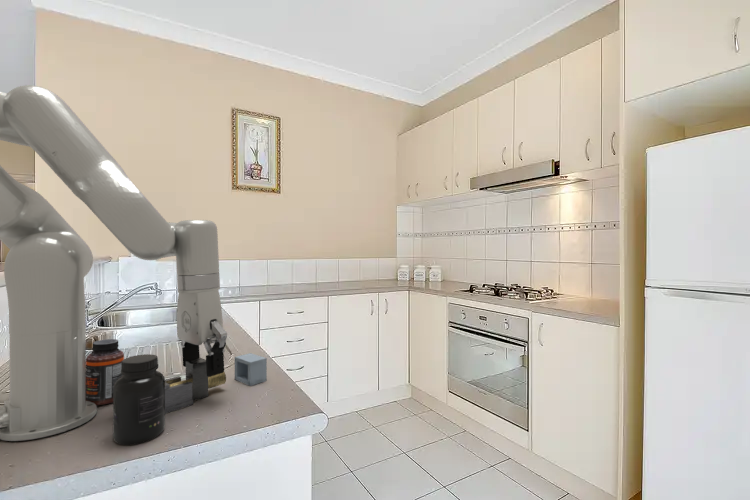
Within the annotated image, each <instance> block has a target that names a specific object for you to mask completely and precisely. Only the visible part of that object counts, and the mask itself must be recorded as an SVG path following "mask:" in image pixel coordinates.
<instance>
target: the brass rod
mask: <svg viewBox="0 0 750 500" xmlns="http://www.w3.org/2000/svg"><path fill="white" fill-rule="evenodd" d="M186 382H192V400H193V402H194V401H198V400H200V399H204V398H206V397H207V398H208V397H209V389H212V388H215V387H218V386H222V385H225V384H226V382H227V375H226V373H225V371H224V372H223V373H221V374H217V375H214V376H211V377H208V376H207V370H206V358H202V357H200V358H198V359H194V360H189V361H186V367H185V379H184V380H181V381H180V382H176V383H172V384H170V387H172V386H175V385H179V384H183V383H186Z"/></svg>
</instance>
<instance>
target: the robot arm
mask: <svg viewBox="0 0 750 500" xmlns="http://www.w3.org/2000/svg"><path fill="white" fill-rule="evenodd" d="M0 141H4V142H7V143H12V144H15V145H16V144H17V145H19V146H20V145H21V146H26V147H30V148H31V150H33V151H34V152H35V153H36V154H37V155H38V157H40V158H41V159H42V161H43V162H45V164H46V165H47V166H48V167H49V168H50V169H51V171H53V173H54V174H55V175H57V176H58V177H59V179H60V180H61V182H63V184H64V185H66V187H68V189H69V190H70V191H71V192H72V194H74V196H75V197H77V198H78V199H79V200H80V201H82V202H83V204H85V205H86V206H87V207H88V209H90V211H91V212H92V213H93V214H94V215H95V216H96V217H97V218H98V219H99V221H100V222H101V223H102V224H103V225H104V226H105V227H106V228H107V229H108V230H109V231H110V233H111V234H112V235H113V236H114V237H115V238H116V239H117V241H119V242H120V243H121V245H123V247H124V248H125V249H126V250H127V251H128V252H129V253H131V255H133V256H134V257H136V258H137V259H140V260H144V261H157V260H160V259H163V258H169V257H170V258H171V257H175V259H176V260H175V263H176V279H177V280H176V281H177V282H176V283H177V293H178V295H177V304H176V305H177V307H176V332H177V333H176V336H177V338H178V339H179V340H181V341H180V345H181V353H182V354H181V355H182V367H184V368H186V361H189V360H194V359H198V358H201V357H200V355H201V354H200V346H202V345H204V348H205V351H206V353H207V354H206V355H205V360H206V370H207V376H208V377H211V376H214V375H217V374H221V373H223V372H225V359H224V358H225V356H224V354H225V351H226V350H225V349H226V344H227V337H228V333H227V331H226V329H225V328H224V321H223V310H222V303H221V297H220V291H219V290H221V283H220V279H221V278H220V260H219V258H220V256H219V241H218V240H219V238H218V227H217V224H216V223H215V222H214V221H212V220H208V219H205V220H204V219H188V220H181V221H178V222H168V221H167V220H166V219H165V218H164V217H163V215H161V213H160V212H159V211H158V210H157V209H156V208H155V206H154V205H153V204H152V203H151V202H150V201H149V199H148V198H147V197H146V196H145V194H143V193H142V191H141V190H140V189H139V188H138V187H137V186H136V185H135V183H134V182H133V181H132V180H131V179H130V177H129V176H128V175H127V174H126V172H125V170H124V169H123V167H122V166H121V165H120V164H119V163H118V161H117V160H116V159H115V157H114V156H113V155H112V154H111V153H110V152H109V151H108V150H107V149H106V147H105V146H103V144H102V142H100V141H99V139H98V138H97V137H96V136H95V135H94V134H93V132H92V131H91V130H90V128H88V126H86V124H85V123H84V122H83V121H82V120H81V119H80V118H79V116H78V115H77V114H76V113H75V112H74V111H73V109H72V108H71V107H70V106H69V104H67V103H66V102H65V100H64V99H62V98H61V97H60V96H59V95H58V94H56V93H55V92H53V91H52V90H50V89H48V88H45V87H43V86H38V85H34V84H33V85H27V84H25V85H20V86H17V87H14V88H12V89H11V90H9V91H8V92H4V91H0ZM42 195H43V194H41V193H39V191H36V190H35V189H33V188H31V187H30V186H26V185H25V184H23V183H21V182H20V181H18V180H16V178H15V177H13V176H12V175H10V174H9V172H8V171H7V170H5V168H4V167H2V166H1V165H0V241H1V243H3V244H4V245H5V246H6V247H7V248H8V249H9V251H8V252H7V254H6V257H5V260H4V265H3V266H4V267H3V268H4V269H3V272H4V273H3V276H4V283H5V291H6V293H7V294H6V295H7V303H8V334H9V399H6V400H4V401H3V403H4V404H3V405H2V406H0V440H1V441H7V442H8V441H9V442H19V441H20V442H22V441H23V442H24V441H30V440H36V439H43V438H47V437H51V436H53V435H54V436H55V435H58V434H61V433H64V432H67V431H69V430H73V429H75V428H77V427H80V426H82V425H83V424H85V423H87V422H89V421H90V420H92V419H93V418H94V417H95V416H96V414H97V412H98V411H97V410H98V406H96V404H95V403H93V402H90V401H86V358H87V355H86V353H87V352H86V351H87V348H86V347H87V345H86V344H87V343H86V341H87V340H86V337H87V336H86V333H87V331H86V330H87V329H86V326H87V325H86V296H85V282H84V281H85V280H84V279H85V277H86V276H87V275H88V274H89V272H90V271H91V270H92V267H93V263H94V256H93V252H92V250H91V248H90V246H89V245H88V244H87V243H86V241H85V240H84V239H83V238H82V236H80V234H78V232H77V231H76V230H75V229H74V228H73V227H72V226H71V225H70V224H69V223H68V222H67V220H66V219H65V218H64V217H63V216H62V215H61V213H59V212H58V210H56V208H54V206H53V205H52V204H51V203H50V202H49V201H48V200H47V199H46V198H45V197H44V196H42ZM212 344H213V345H212Z"/></svg>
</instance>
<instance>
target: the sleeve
mask: <svg viewBox="0 0 750 500" xmlns="http://www.w3.org/2000/svg"><path fill="white" fill-rule="evenodd" d="M180 381H182V377H181V376H179V375H178V376H174V377H170V378H167V379H166V378H165V414H168V413H170V412H174V411H176V410H178V411H179V410H180V409H184V408H186V407H189V406H192V405H194V401H193V400H192V382H186V383H183V384H179V385H175V386H172V387H170V384H172V383H176V382H180Z"/></svg>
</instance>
